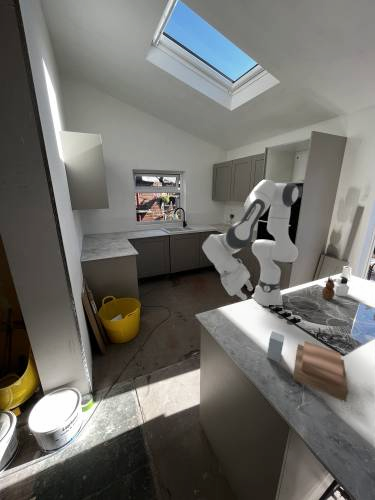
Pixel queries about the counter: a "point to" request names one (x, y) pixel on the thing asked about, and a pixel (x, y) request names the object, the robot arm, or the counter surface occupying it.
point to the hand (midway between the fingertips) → (248, 294)
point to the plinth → (319, 380)
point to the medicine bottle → (341, 286)
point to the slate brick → (275, 346)
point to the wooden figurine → (328, 290)
